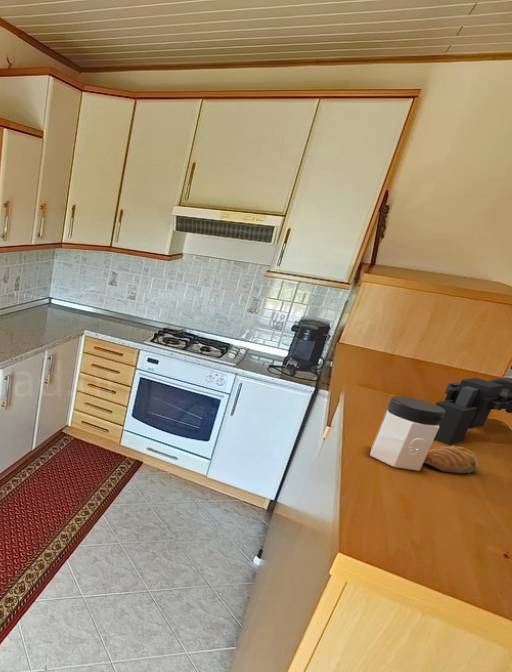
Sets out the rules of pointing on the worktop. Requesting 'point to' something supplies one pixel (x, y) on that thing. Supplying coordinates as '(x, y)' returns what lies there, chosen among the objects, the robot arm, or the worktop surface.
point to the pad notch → (454, 422)
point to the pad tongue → (476, 397)
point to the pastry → (452, 459)
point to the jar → (407, 432)
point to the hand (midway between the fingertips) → (464, 400)
